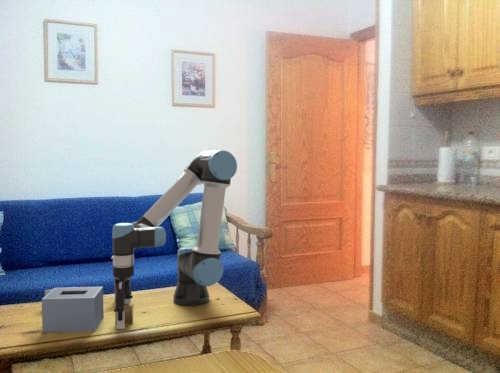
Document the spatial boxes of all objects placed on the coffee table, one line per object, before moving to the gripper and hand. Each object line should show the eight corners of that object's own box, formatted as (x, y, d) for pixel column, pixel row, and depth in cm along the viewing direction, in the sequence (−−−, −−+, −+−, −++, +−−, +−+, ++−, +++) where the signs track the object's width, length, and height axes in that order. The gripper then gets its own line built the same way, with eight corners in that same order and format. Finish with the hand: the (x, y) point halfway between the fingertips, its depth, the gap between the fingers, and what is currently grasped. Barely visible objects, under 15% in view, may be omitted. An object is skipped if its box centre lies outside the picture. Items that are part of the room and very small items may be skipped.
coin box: (103, 317, 182) (102, 286, 181) (95, 330, 168) (94, 297, 167) (55, 318, 180) (54, 287, 179) (42, 332, 166) (41, 299, 165)
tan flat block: (133, 321, 177) (132, 303, 177) (132, 324, 175) (131, 305, 174) (116, 322, 176) (116, 303, 176) (115, 324, 174) (115, 306, 174)
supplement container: (112, 300, 202) (112, 276, 201) (127, 298, 206) (127, 274, 205) (117, 304, 196) (117, 280, 195) (133, 302, 200) (132, 277, 199)
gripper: (119, 258, 186) (119, 311, 187) (105, 274, 161) (106, 335, 163) (138, 257, 187) (139, 310, 188) (128, 273, 162) (128, 334, 163)
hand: (124, 322), depth 175 cm, fingers open, 13 cm apart
